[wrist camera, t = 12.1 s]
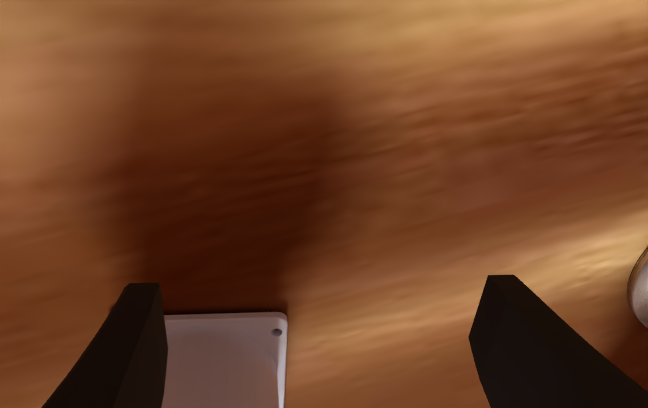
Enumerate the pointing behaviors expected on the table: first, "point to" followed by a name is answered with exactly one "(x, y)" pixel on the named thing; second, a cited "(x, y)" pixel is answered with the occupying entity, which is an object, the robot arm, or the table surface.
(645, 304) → the axle mount
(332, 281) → the table surface
